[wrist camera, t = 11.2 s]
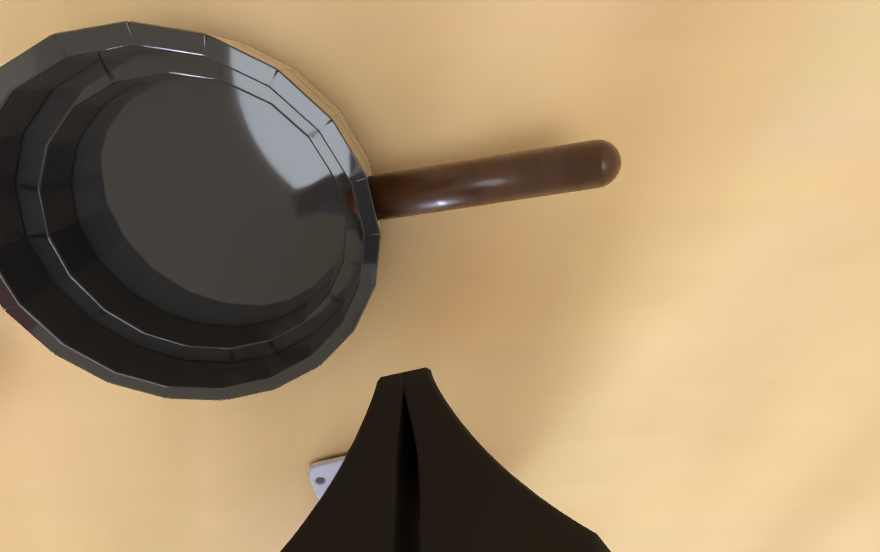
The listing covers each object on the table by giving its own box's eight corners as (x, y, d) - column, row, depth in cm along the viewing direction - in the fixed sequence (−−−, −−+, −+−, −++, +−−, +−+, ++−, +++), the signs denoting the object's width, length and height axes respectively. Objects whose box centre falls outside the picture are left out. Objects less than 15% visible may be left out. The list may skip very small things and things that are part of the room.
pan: (404, 312, 22) (410, 360, 18) (133, 370, 21) (82, 431, 17) (334, 5, 16) (322, -14, 13) (-33, 70, 16) (-156, 69, 12)
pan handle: (352, 218, 17) (348, 245, 15) (341, 177, 17) (335, 197, 14) (591, 170, 18) (630, 187, 15) (590, 128, 17) (630, 138, 14)
